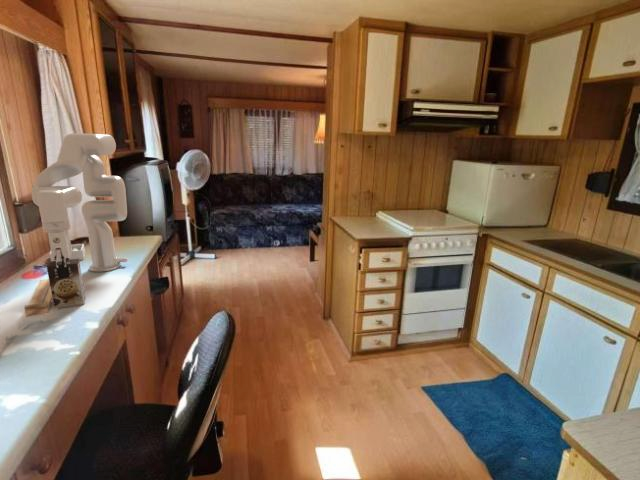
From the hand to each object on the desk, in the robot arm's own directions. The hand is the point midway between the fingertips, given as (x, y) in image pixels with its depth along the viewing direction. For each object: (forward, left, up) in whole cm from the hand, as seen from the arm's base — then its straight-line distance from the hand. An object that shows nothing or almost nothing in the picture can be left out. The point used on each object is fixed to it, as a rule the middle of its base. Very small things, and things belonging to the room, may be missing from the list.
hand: (65, 273), depth 127 cm
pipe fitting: (+4, -59, -12) cm, 61 cm away
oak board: (+9, -10, -12) cm, 18 cm away
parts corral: (+6, -59, -12) cm, 60 cm away
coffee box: (0, 0, -12) cm, 12 cm away
